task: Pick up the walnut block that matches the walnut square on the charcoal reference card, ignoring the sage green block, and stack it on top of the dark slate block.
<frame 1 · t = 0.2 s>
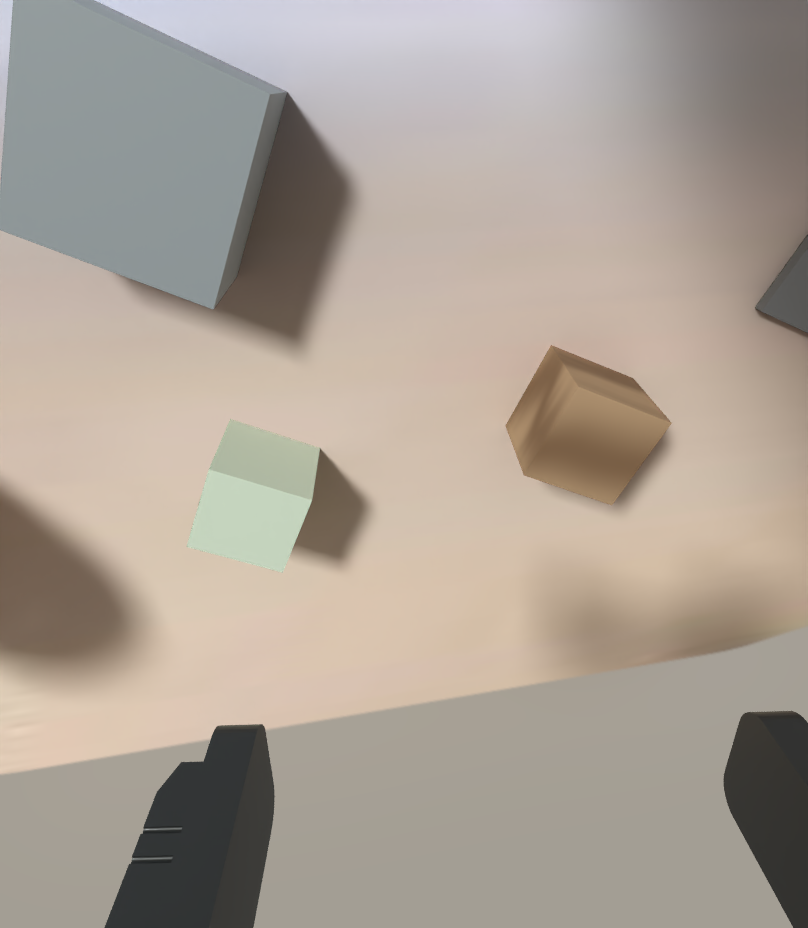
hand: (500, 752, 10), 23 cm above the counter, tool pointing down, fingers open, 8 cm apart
sage green block: (263, 469, 34), on the counter
walnut block: (567, 401, 32), on the counter
slate block: (168, 150, 25), on the counter
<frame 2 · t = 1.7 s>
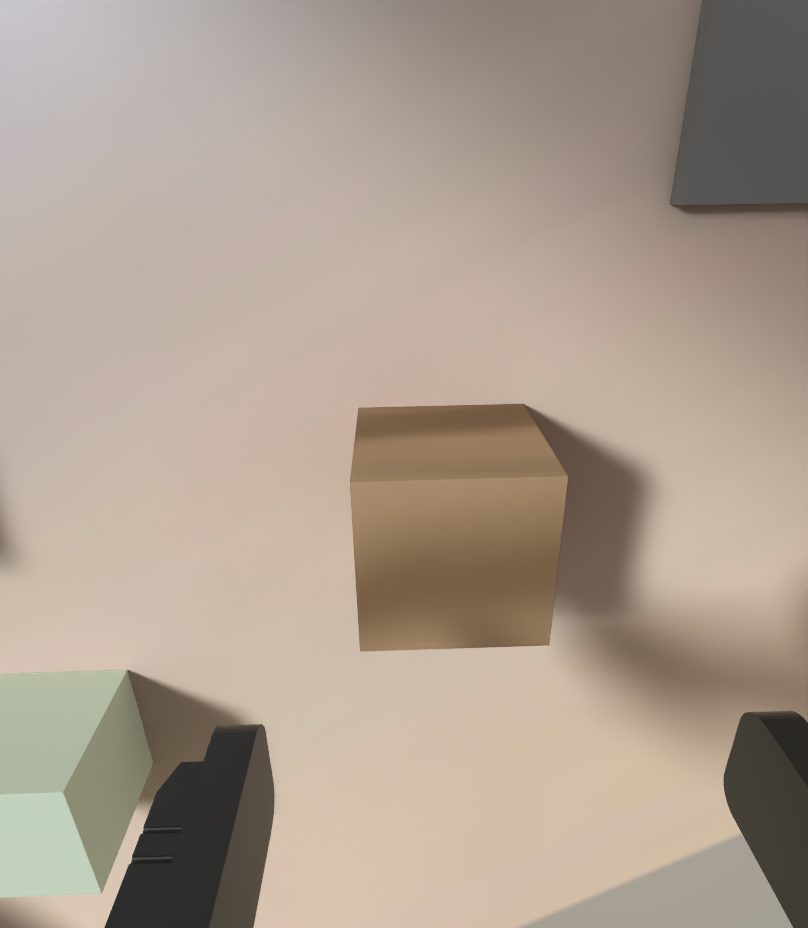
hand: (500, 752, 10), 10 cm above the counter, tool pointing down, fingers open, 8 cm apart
sage green block: (76, 719, 23), on the counter
walnut block: (440, 478, 19), on the counter
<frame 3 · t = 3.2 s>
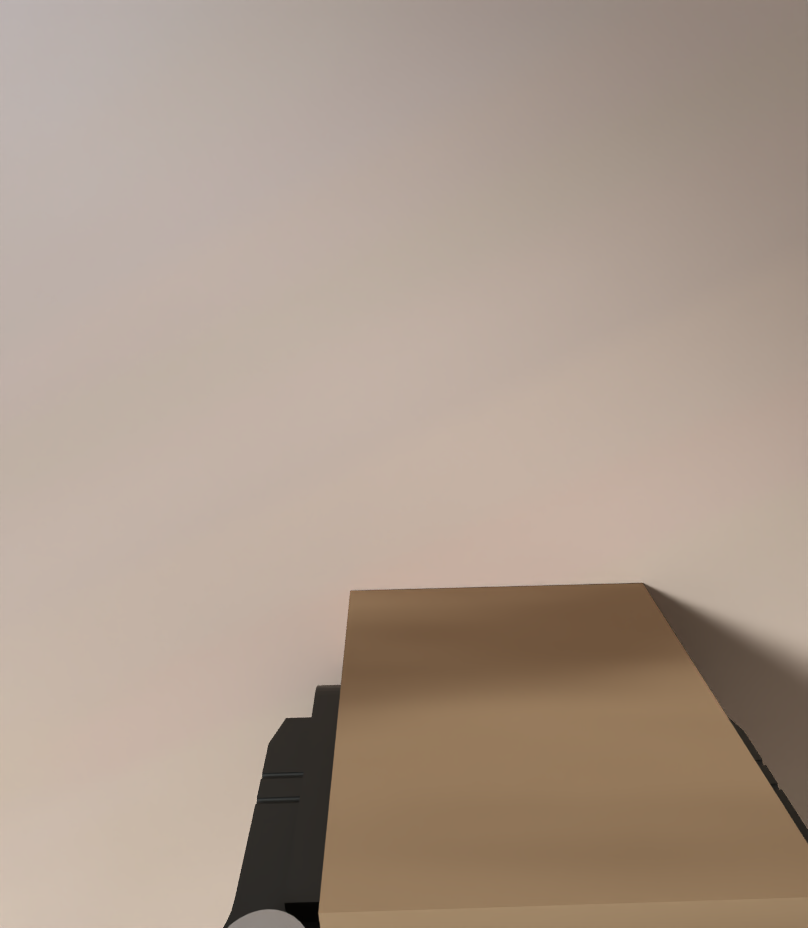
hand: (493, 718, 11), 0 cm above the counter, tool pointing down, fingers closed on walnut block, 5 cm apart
walnut block: (490, 696, 11), on the counter, touching gripper
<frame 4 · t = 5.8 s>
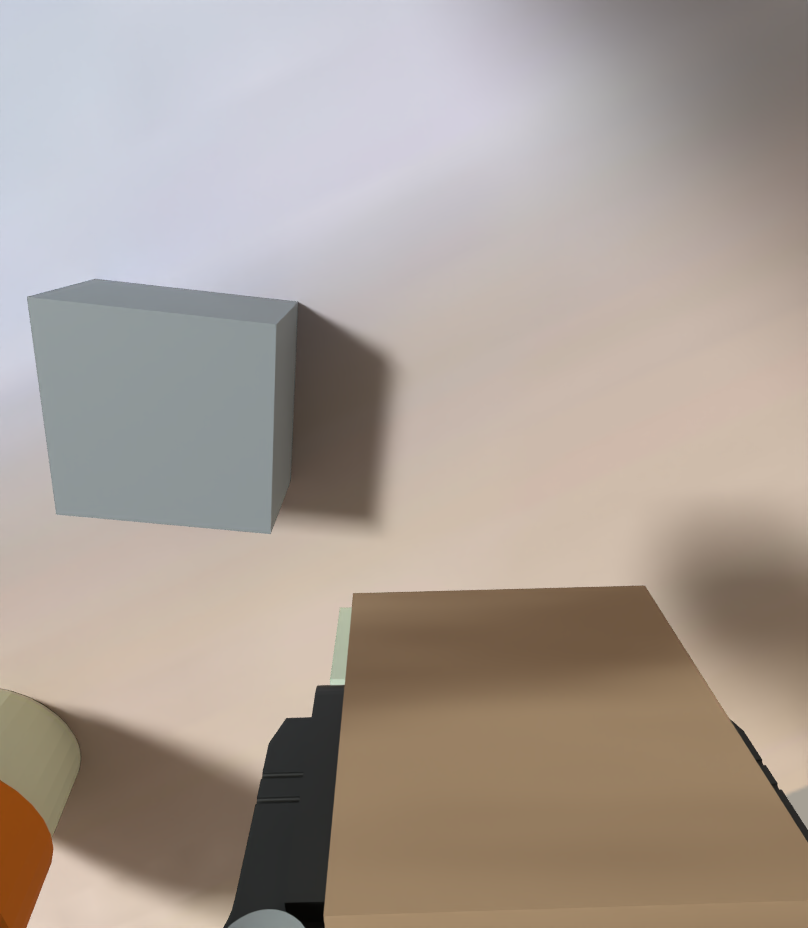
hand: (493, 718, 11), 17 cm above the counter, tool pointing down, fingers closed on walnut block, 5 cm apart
sage green block: (389, 645, 31), on the counter
walnut block: (492, 698, 11), point 16 cm above the counter, touching gripper
reusable coffee cup: (1, 744, 34), on the counter
slate block: (201, 385, 26), on the counter
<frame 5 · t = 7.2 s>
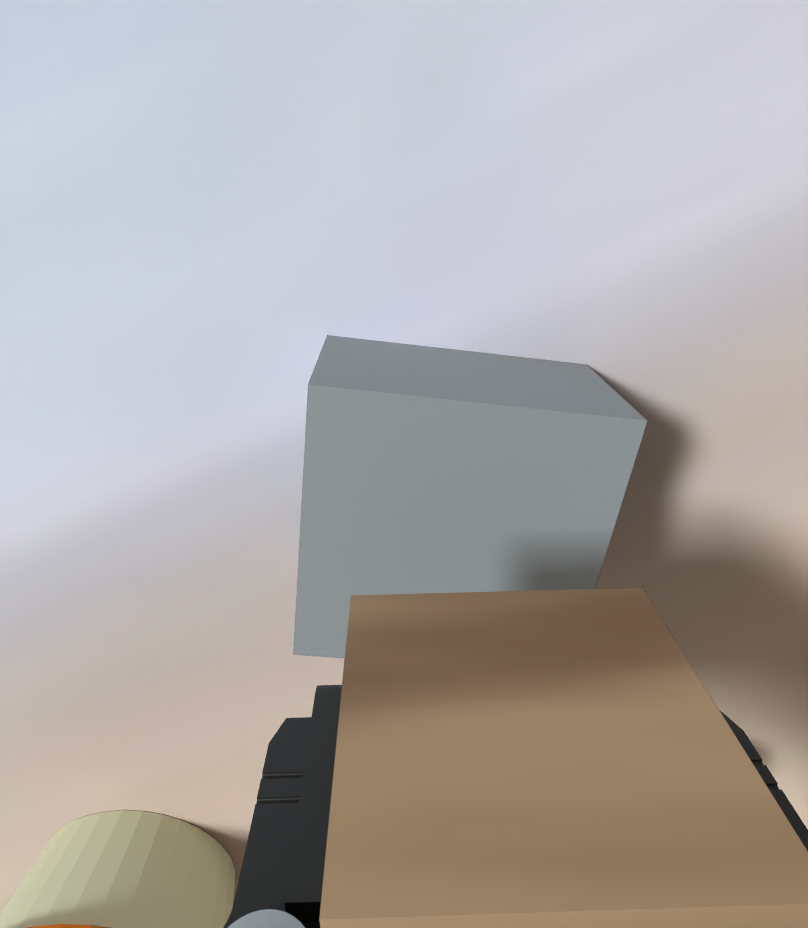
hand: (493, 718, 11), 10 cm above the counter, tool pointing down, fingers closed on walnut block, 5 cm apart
walnut block: (490, 700, 11), point 10 cm above the counter, touching gripper
reusable coffee cup: (142, 867, 29), on the counter
slate block: (439, 465, 20), on the counter
when the fingers open (7 cm above the counter, at t = 8.3 s): walnut block drops 2 cm, resting on slate block.
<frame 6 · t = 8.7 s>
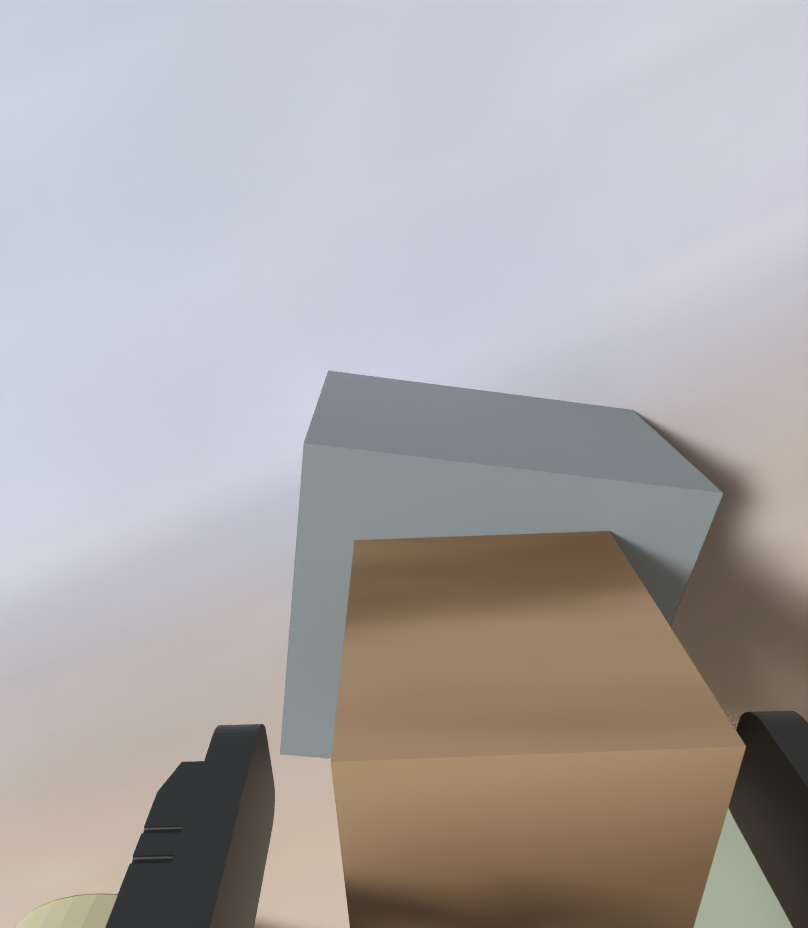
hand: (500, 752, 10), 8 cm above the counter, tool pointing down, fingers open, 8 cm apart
sage green block: (656, 832, 23), on the counter
walnut block: (479, 636, 13), point 5 cm above the counter, touching slate block
slate block: (455, 519, 17), on the counter, touching walnut block
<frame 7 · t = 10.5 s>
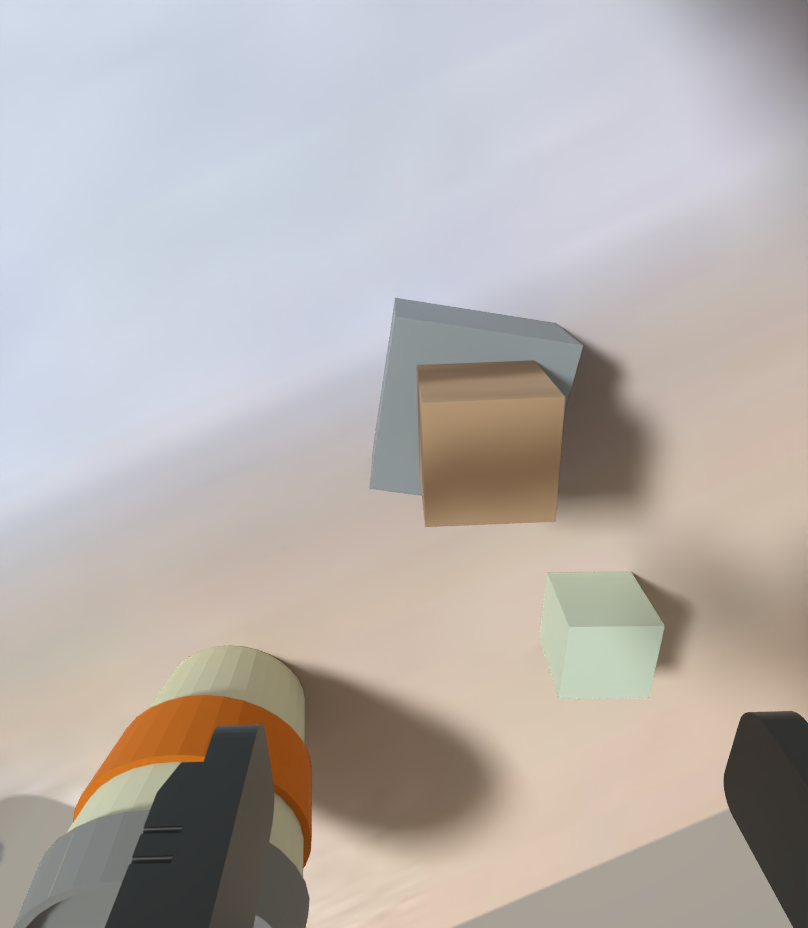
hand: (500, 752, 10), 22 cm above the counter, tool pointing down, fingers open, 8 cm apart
sage green block: (583, 605, 37), on the counter
walnut block: (474, 418, 27), point 5 cm above the counter, touching slate block
reusable coffee cup: (237, 697, 40), on the counter
slate block: (460, 387, 31), on the counter, touching walnut block
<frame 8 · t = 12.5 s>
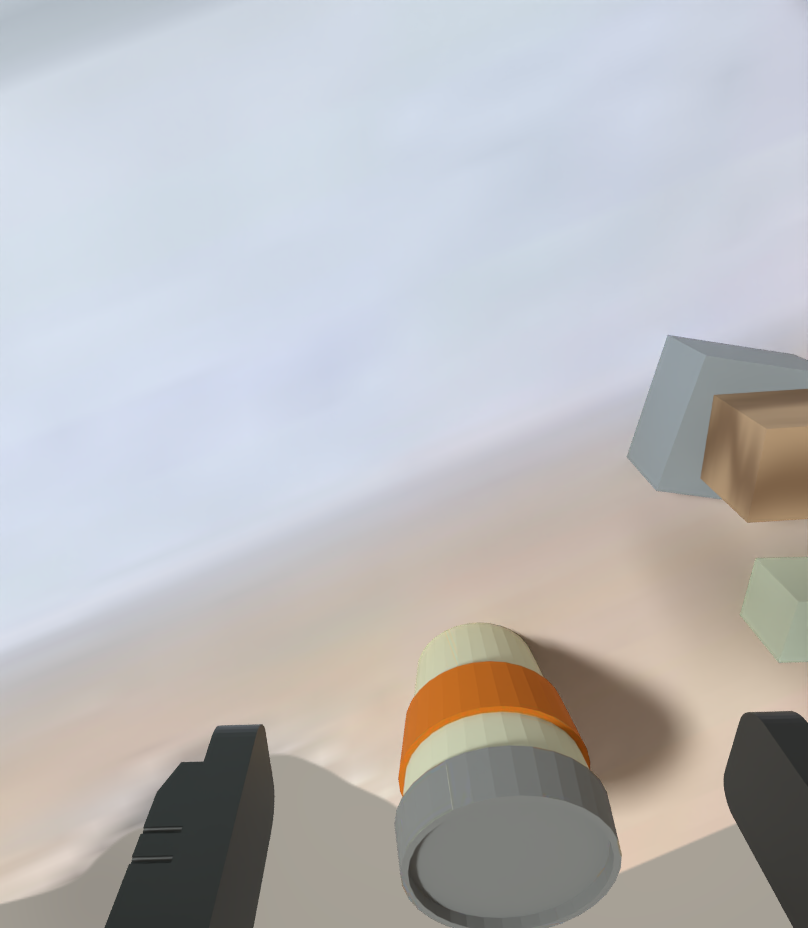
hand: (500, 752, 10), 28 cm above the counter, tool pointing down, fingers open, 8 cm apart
sage green block: (781, 585, 44), on the counter
walnut block: (751, 434, 33), point 5 cm above the counter
reusable coffee cup: (474, 667, 46), on the counter
slate block: (705, 406, 38), on the counter
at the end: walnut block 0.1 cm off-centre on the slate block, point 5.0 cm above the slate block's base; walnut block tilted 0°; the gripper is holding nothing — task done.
